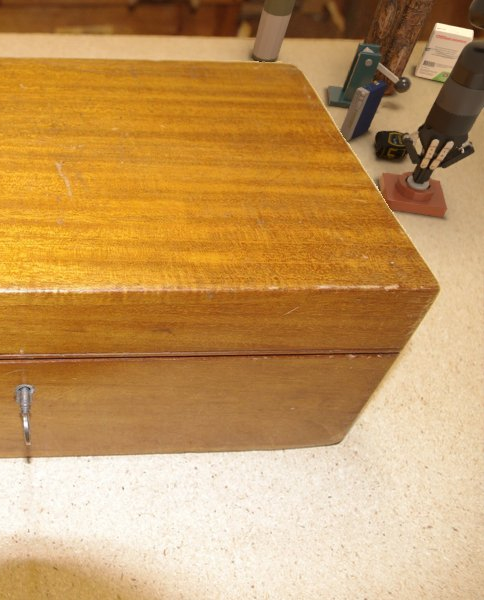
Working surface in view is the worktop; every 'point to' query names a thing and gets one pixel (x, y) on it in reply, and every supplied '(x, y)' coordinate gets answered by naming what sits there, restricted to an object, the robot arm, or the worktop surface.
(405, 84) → the flush lever
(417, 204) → the block
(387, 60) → the tree bark piece
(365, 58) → the bracket
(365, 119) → the cassette player
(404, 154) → the tape measure
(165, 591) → the worktop surface
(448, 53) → the white cardboard box
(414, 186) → the flush button
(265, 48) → the bottle
